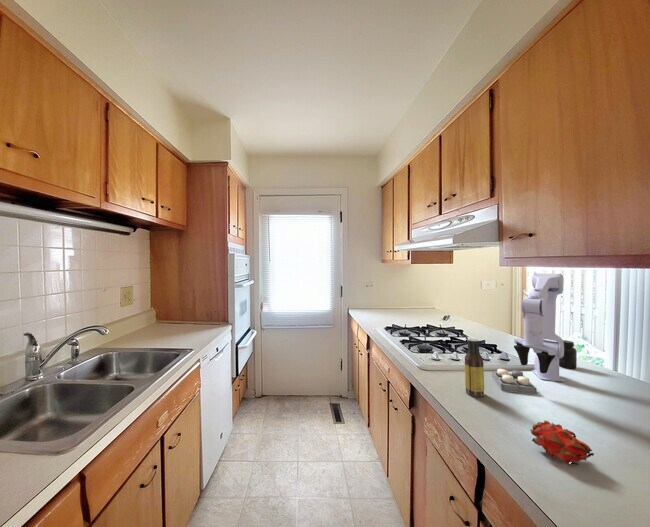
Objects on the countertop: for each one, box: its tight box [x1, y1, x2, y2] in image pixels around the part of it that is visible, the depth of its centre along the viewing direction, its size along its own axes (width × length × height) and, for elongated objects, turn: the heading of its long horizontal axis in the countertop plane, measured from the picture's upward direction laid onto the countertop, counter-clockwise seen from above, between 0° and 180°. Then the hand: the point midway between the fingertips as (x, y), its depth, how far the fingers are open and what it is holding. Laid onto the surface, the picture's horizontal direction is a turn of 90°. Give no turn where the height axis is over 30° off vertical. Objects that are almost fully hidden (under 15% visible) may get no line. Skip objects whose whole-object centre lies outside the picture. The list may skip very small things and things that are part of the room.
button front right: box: [502, 375, 513, 384], centre depth 106 cm, size 4×4×2 cm
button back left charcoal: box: [511, 369, 524, 378], centre depth 111 cm, size 4×4×2 cm
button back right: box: [496, 368, 509, 377], centre depth 112 cm, size 4×4×2 cm
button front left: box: [518, 376, 530, 385], centre depth 105 cm, size 4×4×2 cm
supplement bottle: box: [559, 339, 578, 370], centre depth 128 cm, size 7×7×12 cm
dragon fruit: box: [530, 420, 595, 466], centre depth 68 cm, size 8×8×12 cm
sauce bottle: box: [464, 338, 485, 398], centre depth 102 cm, size 6×6×20 cm
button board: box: [491, 371, 538, 395], centre depth 109 cm, size 13×11×2 cm
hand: (533, 368), depth 100 cm, fingers open, 7 cm apart
